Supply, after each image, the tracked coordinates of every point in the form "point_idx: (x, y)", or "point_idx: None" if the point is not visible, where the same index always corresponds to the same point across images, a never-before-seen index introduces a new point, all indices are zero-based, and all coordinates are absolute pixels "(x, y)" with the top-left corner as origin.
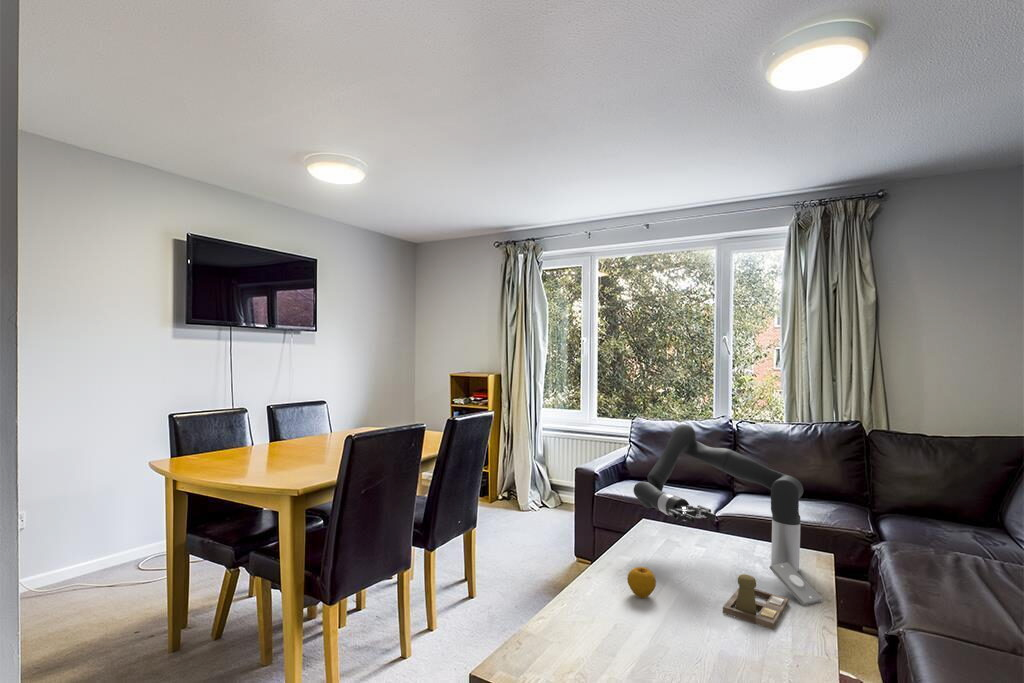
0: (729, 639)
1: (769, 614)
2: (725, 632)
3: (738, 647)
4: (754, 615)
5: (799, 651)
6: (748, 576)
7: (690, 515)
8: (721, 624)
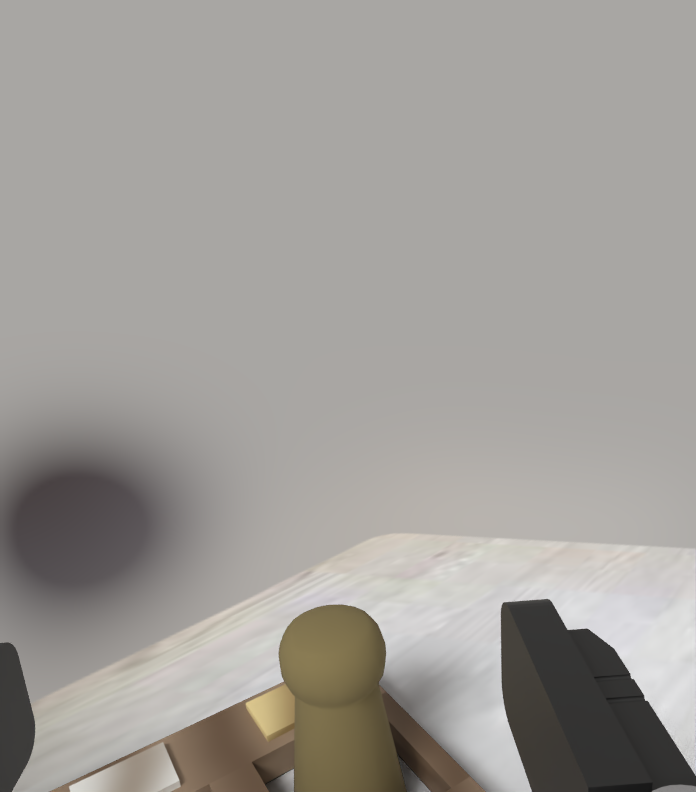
0: None
1: None
2: None
3: (576, 618)
4: None
5: (375, 588)
6: (325, 617)
7: (564, 684)
8: None
